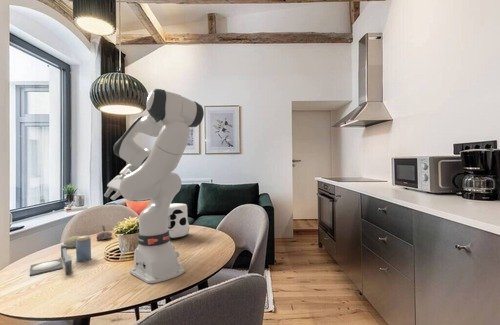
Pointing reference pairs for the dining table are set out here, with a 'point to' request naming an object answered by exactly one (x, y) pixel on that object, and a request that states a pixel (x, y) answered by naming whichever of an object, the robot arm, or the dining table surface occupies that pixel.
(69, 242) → the sea urchin shell
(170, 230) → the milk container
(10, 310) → the dining table surface
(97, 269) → the dining table surface
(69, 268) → the dark grey flat bar
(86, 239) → the ceramic jar
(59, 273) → the dining table surface
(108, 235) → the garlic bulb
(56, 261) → the resting mat
